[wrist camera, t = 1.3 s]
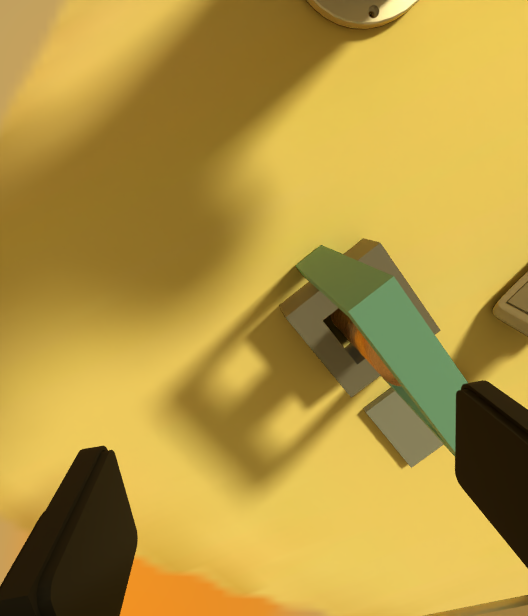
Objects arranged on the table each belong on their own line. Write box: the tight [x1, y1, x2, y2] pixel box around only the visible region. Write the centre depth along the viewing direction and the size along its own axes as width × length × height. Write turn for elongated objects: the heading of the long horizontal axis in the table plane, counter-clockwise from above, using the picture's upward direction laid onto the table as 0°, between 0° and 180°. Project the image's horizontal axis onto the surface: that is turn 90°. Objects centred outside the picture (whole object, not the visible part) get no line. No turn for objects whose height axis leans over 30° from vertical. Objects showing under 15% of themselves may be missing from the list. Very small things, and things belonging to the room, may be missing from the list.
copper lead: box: [330, 308, 401, 386], centre depth 32 cm, size 4×4×12 cm
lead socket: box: [279, 238, 440, 397], centre depth 36 cm, size 10×10×4 cm
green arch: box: [296, 245, 468, 456], centre depth 30 cm, size 3×14×16 cm, turn 39°
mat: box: [363, 387, 444, 468], centre depth 41 cm, size 10×9×1 cm
